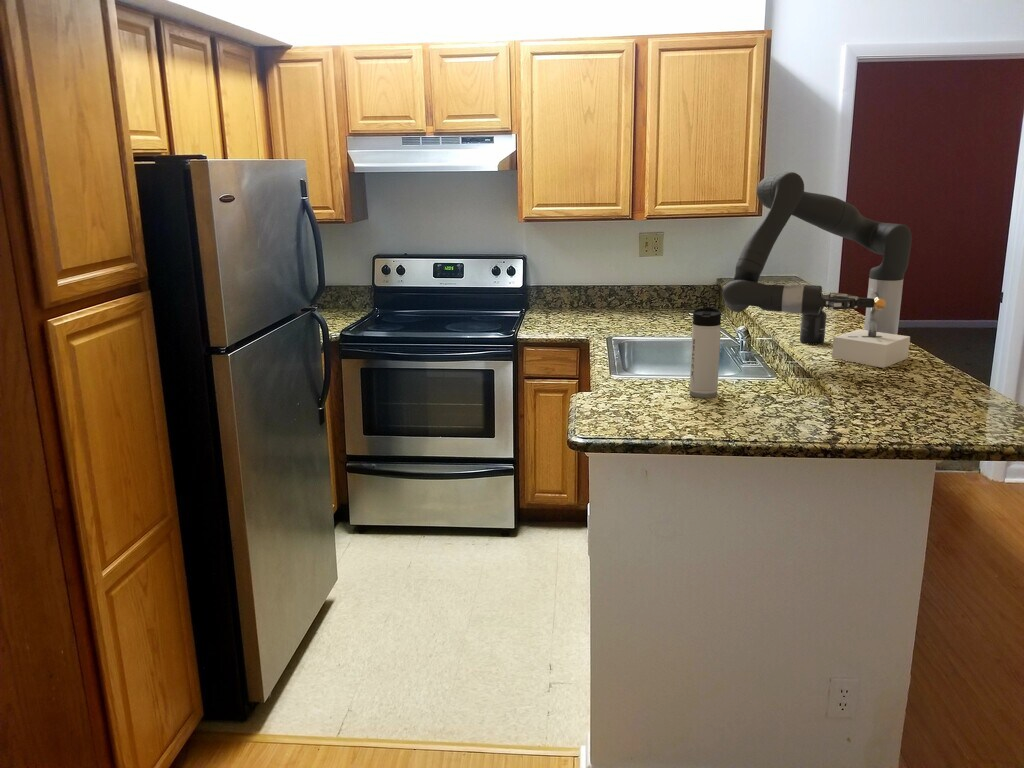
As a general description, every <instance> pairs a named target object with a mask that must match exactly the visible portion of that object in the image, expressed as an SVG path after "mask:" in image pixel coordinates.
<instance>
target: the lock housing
mask: <svg viewBox="0 0 1024 768" xmlns="http://www.w3.org/2000/svg"><path fill="white" fill-rule="evenodd" d="M832 342H833V343H832V344H833V345H832V354H831V359H832V358H837V359H843V360H847V361H852V362H851V363H853V362H856V363H855V364H858V363H861V364H860V365H864V364H866V365H865V366H872V367H875V368H877V367H878V368H882V369H886V368H887V367H889V366H893V365H895V364H897V363H900V362H903V361H905V360H907V359H908V358H909V351H910V343H911V336H908V335H903V334H902V335H901V334H897V335H896V334H889V333H881V332H876V336H868V331H867V330H864V329H860V328H859V329H855V330H852V331H849V332H846V333H842V334H838V335H836V336H833V341H832ZM847 361H846V362H847Z"/></svg>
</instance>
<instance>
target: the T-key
mask: <svg viewBox="0 0 1024 768" xmlns="http://www.w3.org/2000/svg"><path fill="white" fill-rule="evenodd" d="M871 298H873V299H874V307H873V308H871V310H870V320H869V330H868V336H876V332H877V323H878V313H879V310H881V309H883V308H884V307H885V306H886V302H885V300H883V299H881V297H880V296H879V294H878V293H877V292H873V293H872V294H871Z"/></svg>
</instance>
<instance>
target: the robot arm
mask: <svg viewBox="0 0 1024 768" xmlns="http://www.w3.org/2000/svg"><path fill="white" fill-rule="evenodd" d="M756 195H757V198H758V201H759V202H760V203H761V204H762V206H764V207H766V208H767V209H769V211H768V213H767V215H766V216H765V217H764V219H763V221H762V222H761V223H760V225H758V227H757V228H756V229H755V230H754V232H753V233H752V234H751V235H750V237H749V238H748V239H747V241H746V242H745V244H744V246H743V248H742V249H741V250H742V251H741V253H740V255H739V257H738V259H737V262H736V265H735V273H734V277H733V279H732V280H731V281H728V282H727V283H726V284H725V285H724V287H723V289H722V299H723V301H724V303H725V306H726V307H727V308H728V309H729V310H730V311H732V312H734V313H740V312H744V311H745V310H747V309H748V308H749V307H756V308H757V307H758V308H759V309H760V310H763V311H767V312H782V313H788V314H795V315H796V314H798V315H799V314H800V315H802V314H813V315H818V314H819V313H820V309H821V306H822V307H824V308H827V309H828V310H831V311H833V310H835V311H837V310H853V309H854V310H855V309H856V308H865V315H864V316H865V318H864V327H863V330H867V331H868V330H869V320H870V310H871V308H873V307H874V299H873V298H871V294H872V293H873V292H877V293H878V294H879V296H880V297H881V299H883V300H885V302H886V306H885V307H884V308H883V309H881V310H879V313H878V323H877V332H881V333H889V334H896V335H898V331H899V321H900V313H901V305H902V296H903V285H904V278H905V273H906V271H907V269H908V266H909V261H910V255H911V249H912V241H913V236H912V232H911V228H910V227H909V226H907V225H906V224H904V223H903V224H901V223H891V222H879V221H876V220H873V219H869V218H867V217H865V216H863V215H862V214H861V213H860V211H859V209H857V207H856V206H854V205H852V204H851V203H850V202H849V203H848V201H844V200H842V199H841V198H838V197H835V196H832V195H827V194H823V193H822V194H821V193H815V192H807V191H805V181H804V180H803V178H802V176H801V175H800V174H798V173H796V172H794V171H791V172H789V171H787V172H786V171H785V172H782V173H781V172H780V173H777V174H771V175H768V176H766V177H764V178H763V179H761V181H760V182H759V183H758V185H757V187H756ZM791 217H795V218H798V219H799V220H801V221H803V222H806V223H807V224H810V225H813V226H815V227H817V228H819V229H821V230H823V231H826V232H828V233H831V234H833V235H835V236H838V237H841V238H843V239H847V240H851V241H853V242H855V243H857V244H859V245H860V246H862V247H863V248H865V249H867V250H868V251H870V252H872V253H873V254H876V255H882V260H881V263H880V264H879V265H877V266H874V267H871V268H870V270H869V276H868V277H869V278H868V288H867V297H859V296H856V295H854V294H848V293H840V292H833V291H832V292H831V291H830V292H829V294H823V287H822V285H814V284H813V285H812V284H765V283H761V282H759V278H760V276H761V274H762V273H763V270H764V268H765V266H766V263H767V261H768V258H769V256H770V254H771V252H772V249H773V247H774V245H775V244H776V242H777V240H778V238H779V236H780V234H781V233H782V231H783V230H784V228H785V227H786V225H787V223H788V222H789V220H790V218H791Z"/></svg>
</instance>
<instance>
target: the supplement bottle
mask: <svg viewBox="0 0 1024 768" xmlns="http://www.w3.org/2000/svg"><path fill="white" fill-rule="evenodd" d="M824 309H825V307H822V306H821V309H820V313H819V314H818V315H813V314H801V321H800V332H799V342H800V341H801V342H800V343H802V342H803V343H802V344H805V343H808V344H807V345H822V344H824V343H825V337H826V329H827V328H826V327H827V315H828V314H827V313H826V312H825V311H824Z"/></svg>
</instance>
